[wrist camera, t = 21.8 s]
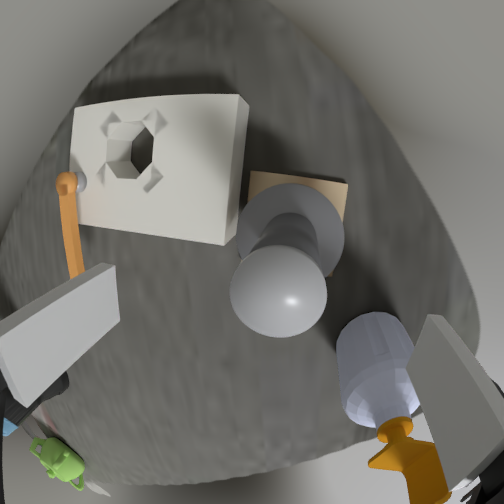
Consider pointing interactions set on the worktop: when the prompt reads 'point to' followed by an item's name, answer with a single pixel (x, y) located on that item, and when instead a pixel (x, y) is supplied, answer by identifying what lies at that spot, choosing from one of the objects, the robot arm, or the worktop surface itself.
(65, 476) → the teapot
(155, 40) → the worktop surface
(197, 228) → the socket block
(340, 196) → the cork mat
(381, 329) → the soap bottle
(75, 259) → the clip
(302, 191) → the plug
